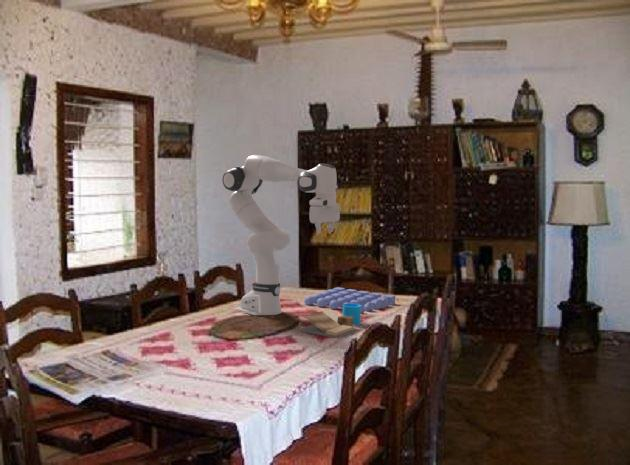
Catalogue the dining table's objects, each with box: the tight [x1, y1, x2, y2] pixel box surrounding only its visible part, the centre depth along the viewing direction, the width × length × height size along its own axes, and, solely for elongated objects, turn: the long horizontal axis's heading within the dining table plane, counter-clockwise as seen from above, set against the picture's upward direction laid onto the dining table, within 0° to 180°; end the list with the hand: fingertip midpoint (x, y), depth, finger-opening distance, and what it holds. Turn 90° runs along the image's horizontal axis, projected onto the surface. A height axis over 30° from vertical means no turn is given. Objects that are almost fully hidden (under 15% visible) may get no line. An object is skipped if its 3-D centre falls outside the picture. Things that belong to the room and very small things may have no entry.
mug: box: [342, 303, 362, 326], centre depth 314 cm, size 12×8×8 cm
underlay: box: [299, 323, 354, 339], centre depth 294 cm, size 18×14×2 cm
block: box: [337, 314, 354, 328], centre depth 302 cm, size 5×5×5 cm
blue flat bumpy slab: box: [303, 286, 396, 314], centre depth 354 cm, size 35×34×5 cm
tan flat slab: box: [305, 310, 341, 333], centre depth 295 cm, size 11×12×1 cm
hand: (324, 232), depth 304 cm, fingers open, 8 cm apart
